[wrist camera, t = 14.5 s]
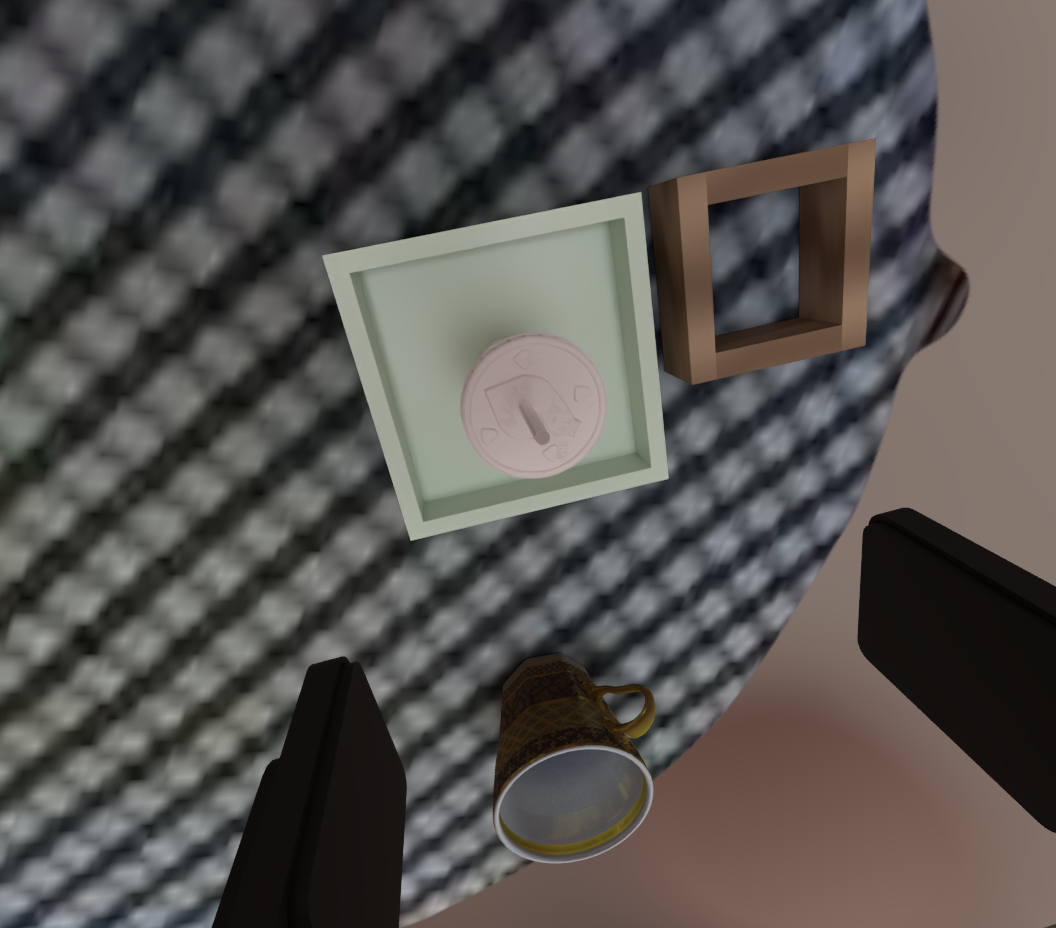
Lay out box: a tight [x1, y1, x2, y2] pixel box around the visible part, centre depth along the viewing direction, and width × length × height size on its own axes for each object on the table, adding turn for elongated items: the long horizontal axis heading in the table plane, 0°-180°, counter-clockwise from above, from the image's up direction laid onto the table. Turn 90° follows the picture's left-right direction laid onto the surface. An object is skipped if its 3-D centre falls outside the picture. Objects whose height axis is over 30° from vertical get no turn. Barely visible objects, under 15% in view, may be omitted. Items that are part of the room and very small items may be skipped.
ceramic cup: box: [493, 653, 655, 863], centre depth 37 cm, size 13×10×10 cm
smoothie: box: [461, 332, 607, 479], centre depth 25 cm, size 6×6×14 cm
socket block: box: [648, 138, 876, 385], centre depth 31 cm, size 11×11×4 cm
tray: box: [322, 192, 669, 541], centre depth 31 cm, size 16×16×4 cm
